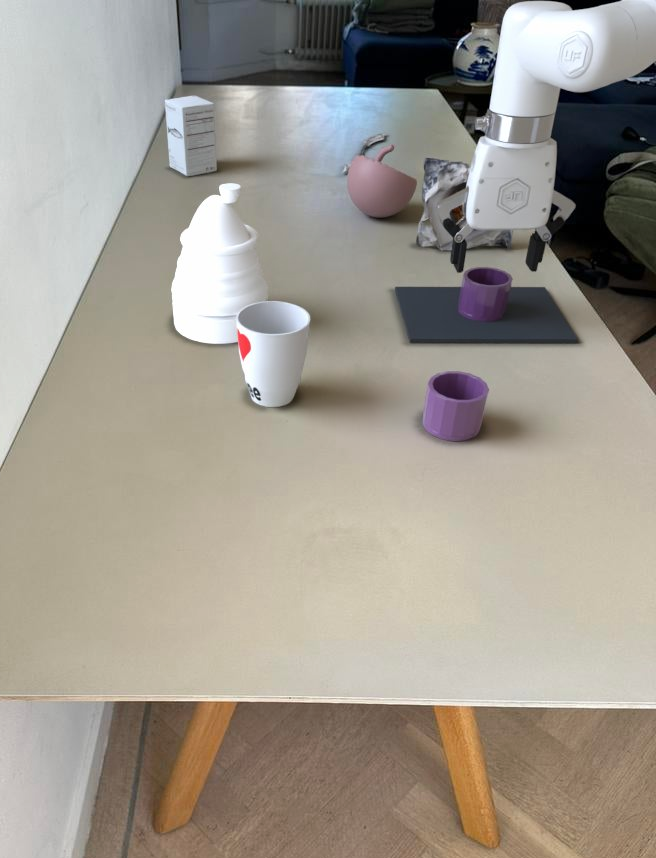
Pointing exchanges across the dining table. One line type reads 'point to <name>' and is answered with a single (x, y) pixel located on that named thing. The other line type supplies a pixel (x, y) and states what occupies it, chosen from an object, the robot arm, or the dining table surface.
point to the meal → (440, 185)
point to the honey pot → (216, 271)
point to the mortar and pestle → (379, 185)
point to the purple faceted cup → (454, 405)
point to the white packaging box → (191, 135)
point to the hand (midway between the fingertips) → (494, 268)
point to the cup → (272, 350)
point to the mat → (442, 323)
